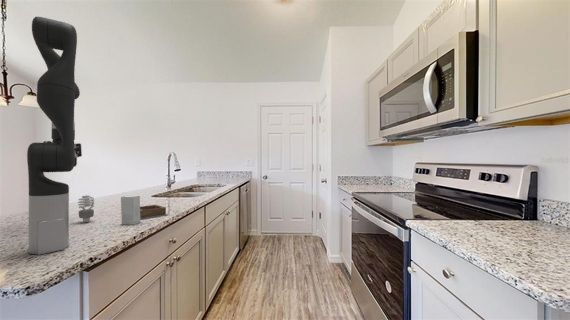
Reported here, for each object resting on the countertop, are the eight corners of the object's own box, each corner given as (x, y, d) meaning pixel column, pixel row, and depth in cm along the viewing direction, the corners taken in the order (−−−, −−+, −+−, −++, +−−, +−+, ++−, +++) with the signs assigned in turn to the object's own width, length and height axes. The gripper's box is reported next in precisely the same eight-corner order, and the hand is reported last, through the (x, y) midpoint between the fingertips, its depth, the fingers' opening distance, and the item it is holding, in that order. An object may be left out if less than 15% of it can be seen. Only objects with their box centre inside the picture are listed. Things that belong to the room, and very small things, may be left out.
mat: (167, 215, 127) (167, 214, 127) (137, 220, 116) (137, 219, 116) (155, 211, 136) (155, 210, 136) (126, 215, 125) (126, 215, 125)
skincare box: (140, 222, 112) (140, 195, 112) (133, 225, 108) (134, 196, 108) (127, 222, 113) (127, 195, 113) (120, 224, 108) (120, 196, 108)
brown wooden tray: (165, 214, 127) (165, 207, 127) (141, 218, 119) (141, 210, 119) (155, 211, 135) (155, 204, 135) (132, 214, 126) (132, 207, 126)
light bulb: (74, 223, 110) (74, 195, 110) (88, 220, 116) (88, 194, 116) (84, 224, 109) (84, 196, 108) (97, 221, 114) (97, 194, 114)
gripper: (52, 126, 101) (52, 167, 100) (86, 130, 115) (86, 166, 114) (37, 126, 102) (37, 167, 102) (72, 131, 116) (72, 166, 116)
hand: (63, 166), depth 108 cm, fingers open, 8 cm apart
